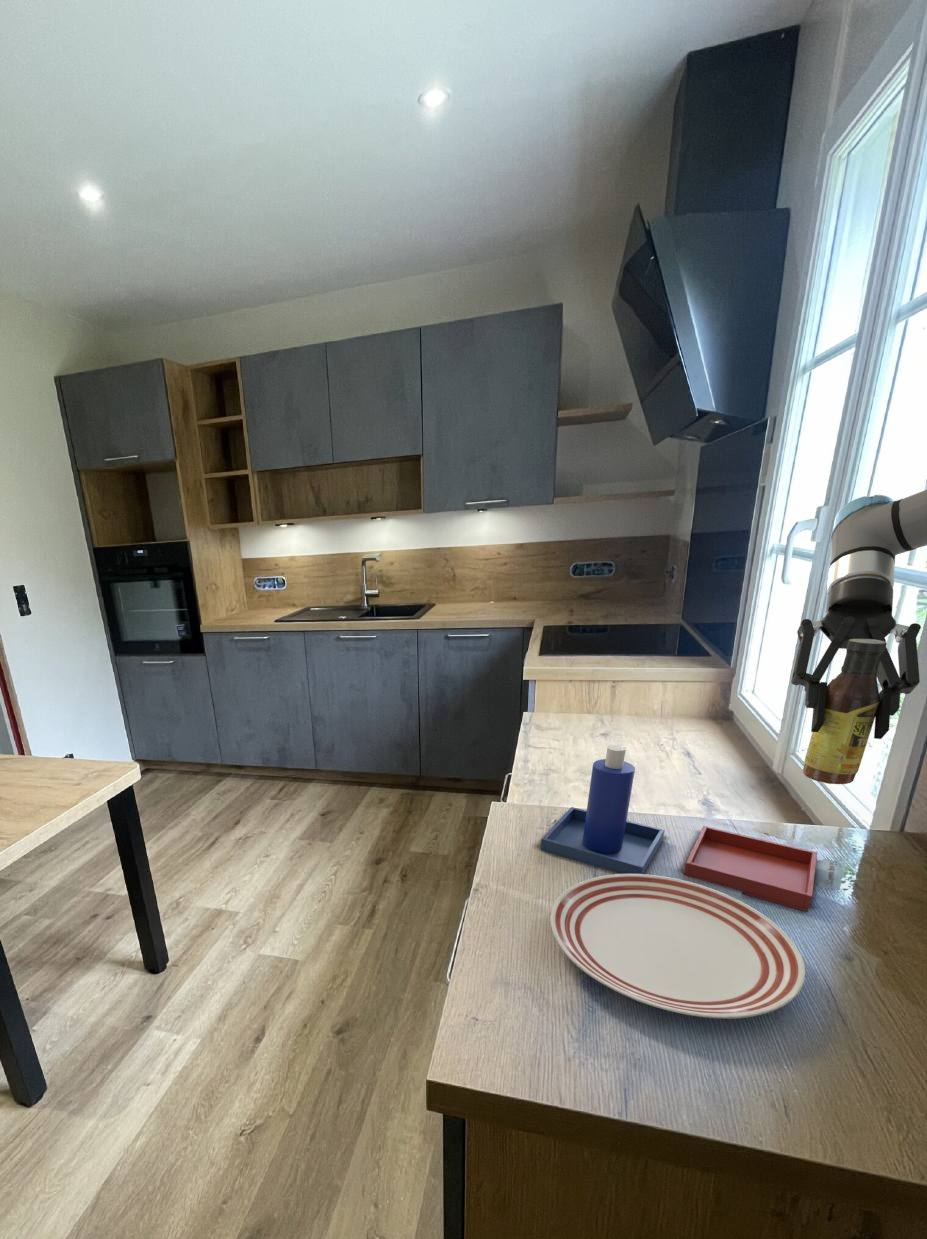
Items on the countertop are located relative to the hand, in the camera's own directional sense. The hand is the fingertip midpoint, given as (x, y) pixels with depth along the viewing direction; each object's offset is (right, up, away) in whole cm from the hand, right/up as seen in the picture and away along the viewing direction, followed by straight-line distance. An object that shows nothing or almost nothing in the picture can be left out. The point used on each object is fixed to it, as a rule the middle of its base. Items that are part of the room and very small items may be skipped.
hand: (848, 730), depth 83 cm
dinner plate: (-29, -28, -6) cm, 41 cm away
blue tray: (-26, -18, +17) cm, 36 cm away
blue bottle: (-26, -18, +17) cm, 36 cm away
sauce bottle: (+2, -7, +6) cm, 9 cm away
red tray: (-7, -21, +10) cm, 24 cm away
